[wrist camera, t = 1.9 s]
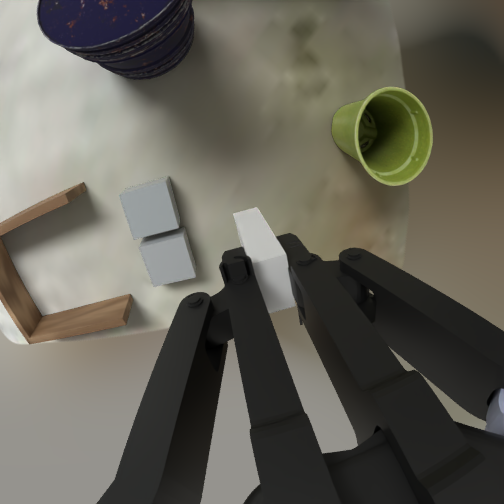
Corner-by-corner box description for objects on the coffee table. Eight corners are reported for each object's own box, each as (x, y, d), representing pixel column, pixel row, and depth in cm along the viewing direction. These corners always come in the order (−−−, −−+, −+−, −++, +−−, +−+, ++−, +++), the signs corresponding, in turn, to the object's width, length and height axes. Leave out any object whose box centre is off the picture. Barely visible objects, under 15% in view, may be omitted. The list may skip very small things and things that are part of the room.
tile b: (143, 236, 32) (138, 247, 29) (184, 226, 32) (183, 236, 29) (156, 273, 34) (153, 286, 31) (195, 264, 34) (195, 277, 32)
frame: (-8, 227, 26) (-28, 243, 22) (83, 182, 27) (65, 193, 23) (41, 322, 34) (29, 344, 29) (133, 300, 35) (126, 324, 30)
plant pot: (397, 137, 31) (444, 148, 23) (348, 183, 33) (389, 205, 25) (357, 76, 27) (402, 69, 19) (300, 123, 29) (334, 125, 21)
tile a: (126, 188, 29) (119, 195, 26) (168, 175, 29) (165, 181, 26) (139, 229, 31) (133, 239, 28) (180, 218, 31) (178, 228, 29)
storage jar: (119, 97, 24) (52, 82, 11) (93, 27, 20) (27, -20, 6) (208, 57, 24) (215, 2, 11) (178, -12, 20) (167, -90, 6)
